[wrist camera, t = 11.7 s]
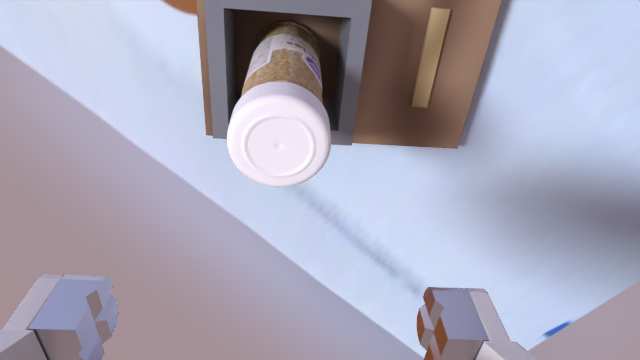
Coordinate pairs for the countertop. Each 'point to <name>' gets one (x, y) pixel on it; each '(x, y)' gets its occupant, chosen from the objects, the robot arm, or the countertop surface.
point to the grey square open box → (346, 3)
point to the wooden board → (390, 65)
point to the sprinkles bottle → (281, 110)
